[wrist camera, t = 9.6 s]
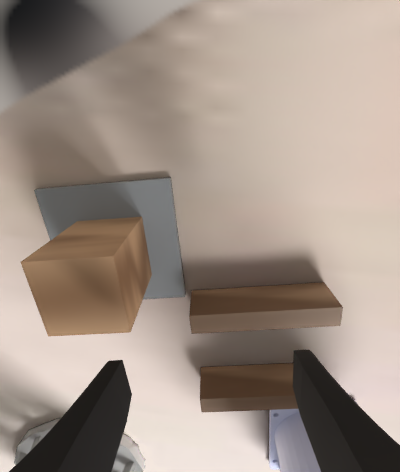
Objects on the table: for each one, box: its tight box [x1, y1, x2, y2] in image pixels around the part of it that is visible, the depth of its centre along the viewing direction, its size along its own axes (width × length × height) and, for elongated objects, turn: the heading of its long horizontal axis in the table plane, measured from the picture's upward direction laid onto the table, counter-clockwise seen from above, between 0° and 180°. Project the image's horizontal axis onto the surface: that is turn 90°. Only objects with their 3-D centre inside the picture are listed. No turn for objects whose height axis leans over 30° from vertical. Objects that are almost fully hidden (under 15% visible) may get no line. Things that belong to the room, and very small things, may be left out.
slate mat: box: [34, 177, 186, 299], centre depth 19 cm, size 9×9×1 cm
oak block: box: [21, 217, 152, 336], centre depth 16 cm, size 4×4×6 cm
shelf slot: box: [189, 282, 343, 412], centre depth 21 cm, size 10×10×3 cm
